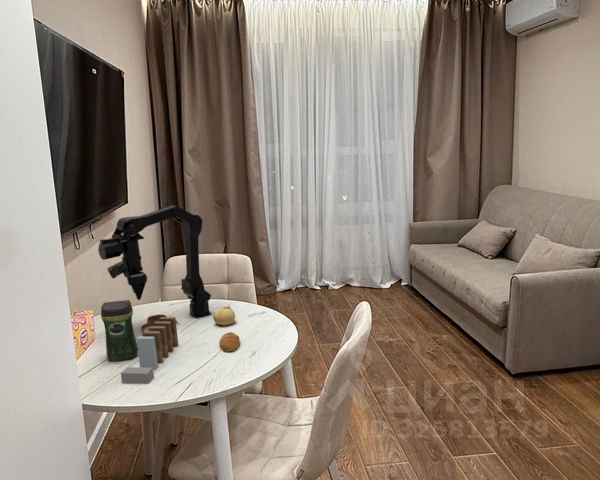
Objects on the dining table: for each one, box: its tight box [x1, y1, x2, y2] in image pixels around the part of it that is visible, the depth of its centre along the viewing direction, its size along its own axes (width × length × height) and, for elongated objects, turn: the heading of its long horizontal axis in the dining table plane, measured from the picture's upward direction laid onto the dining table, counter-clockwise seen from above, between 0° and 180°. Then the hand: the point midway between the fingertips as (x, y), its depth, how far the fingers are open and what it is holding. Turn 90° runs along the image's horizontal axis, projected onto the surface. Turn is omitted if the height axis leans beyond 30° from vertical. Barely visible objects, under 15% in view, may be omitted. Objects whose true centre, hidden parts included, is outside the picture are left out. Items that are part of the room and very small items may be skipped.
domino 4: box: [159, 316, 179, 348], centre depth 178 cm, size 2×5×10 cm, turn 82°
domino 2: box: [147, 326, 169, 359], centre depth 170 cm, size 2×5×10 cm, turn 82°
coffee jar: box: [100, 299, 138, 362], centre depth 171 cm, size 10×8×19 cm
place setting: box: [140, 314, 180, 334], centre depth 199 cm, size 18×20×6 cm
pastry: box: [218, 331, 241, 353], centre depth 175 cm, size 9×7×4 cm
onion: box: [212, 304, 236, 327], centre depth 197 cm, size 8×8×7 cm
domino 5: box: [154, 322, 174, 353], centre depth 174 cm, size 2×5×10 cm, turn 82°
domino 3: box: [142, 330, 164, 364], centre depth 166 cm, size 2×5×10 cm, turn 81°
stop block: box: [120, 366, 155, 384], centre depth 155 cm, size 4×8×3 cm, turn 82°
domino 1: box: [136, 336, 159, 371], centre depth 162 cm, size 2×5×10 cm, turn 82°
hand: (137, 296), depth 190 cm, fingers open, 9 cm apart
